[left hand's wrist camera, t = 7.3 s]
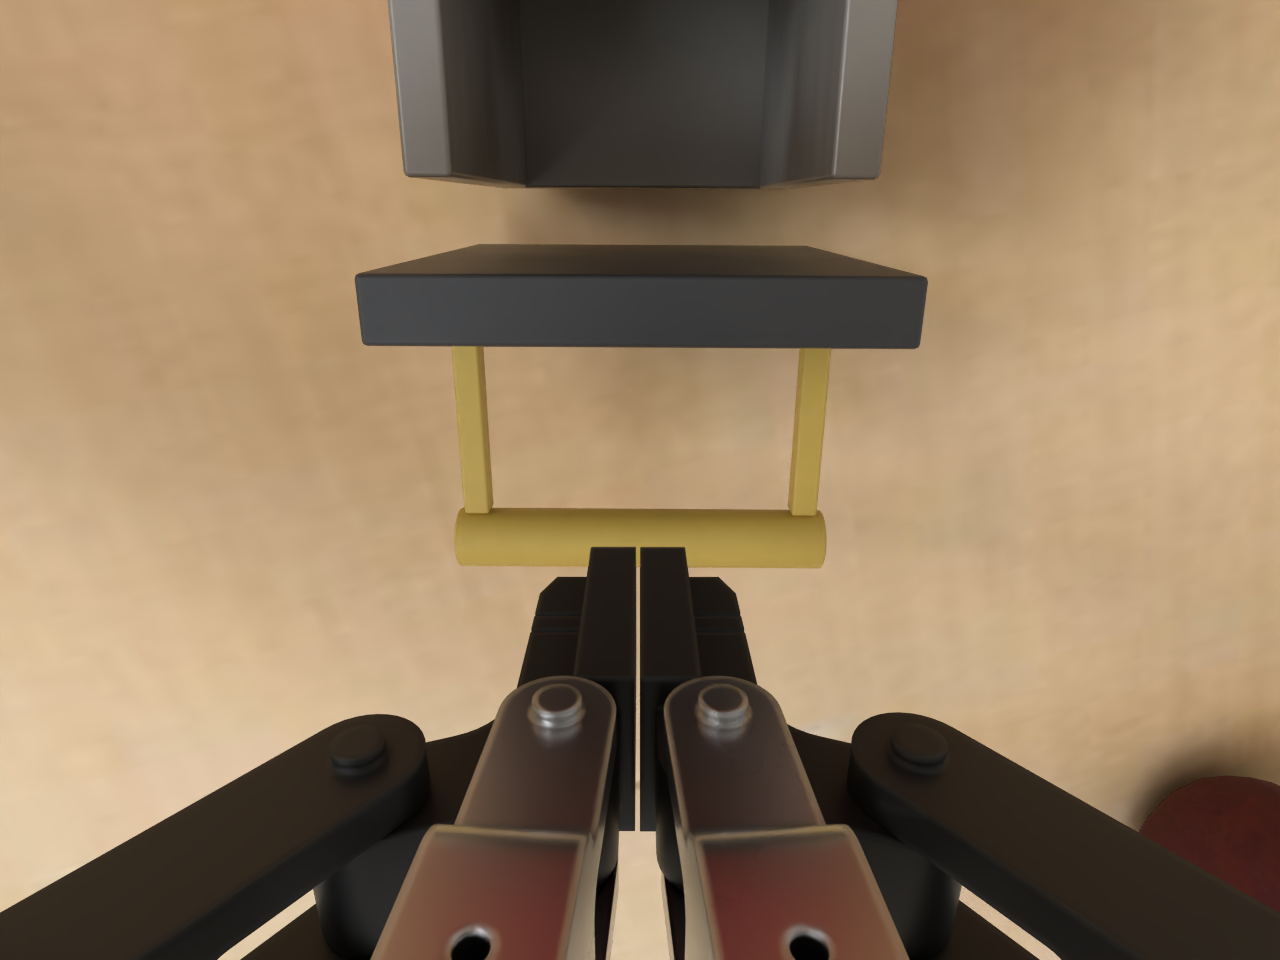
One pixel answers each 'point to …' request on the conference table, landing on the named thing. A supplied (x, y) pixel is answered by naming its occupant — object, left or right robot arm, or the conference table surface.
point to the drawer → (642, 274)
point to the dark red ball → (1225, 832)
